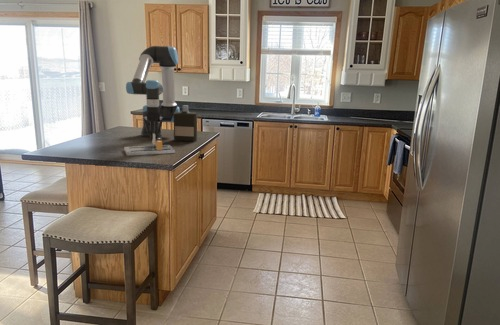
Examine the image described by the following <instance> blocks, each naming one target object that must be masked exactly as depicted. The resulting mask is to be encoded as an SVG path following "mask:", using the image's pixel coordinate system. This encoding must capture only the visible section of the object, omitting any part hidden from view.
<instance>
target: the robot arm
mask: <svg viewBox="0 0 500 325" xmlns="http://www.w3.org/2000/svg"><path fill="white" fill-rule="evenodd" d="M178 55H179V54H178V50H177V49H176V47H174V46H164V45H163V46H161V45H151V46H149V47H147V48H146V49H144V50H143V51H142V52H141V53H140V55H139V58H138V61H139V62H138V63H137V64H138V65H137V67H136V70H135V72H134V75H133V78H132V79H131V81H127V82H126V84H125V90H126V93H127V94H129V95H141V96H142V95H145V97H146V104H145V105H143V106H142V127H141V132H140V136H142V137H145V138H150V140H152V141H151V142H152V146H156V139H157V138H160V137H162V134H163V133H162V130H161V129H162V124H163V123H170V124H172V123H174V113H175V112H181V110H180V108H181V107H179V106H178V104H177V102H176V92H175V68H176V67H177V65H178V64H179V56H178ZM154 64H158V65H159V68H160V69H161V83H160V82H159V80H157V79H155V80H154V79H147V77H148V73H149V72H150V70H151V69H150V68H151V66H153V65H154ZM160 95H162V103H161V104H160Z"/></svg>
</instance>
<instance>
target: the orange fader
mask: <svg viewBox="0 0 500 325" xmlns="http://www.w3.org/2000/svg"><path fill="white" fill-rule="evenodd" d="M155 143H156V145H155V146H156V149H157V150H162V145H163V140H162V141H156V140H155Z"/></svg>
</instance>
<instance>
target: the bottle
mask: <svg viewBox="0 0 500 325" xmlns="http://www.w3.org/2000/svg"><path fill="white" fill-rule="evenodd" d="M197 140H198V113H197V112H190V111H189V105H187V104H186V105H185V104H184V105H182V111H180V112H175V113H174V122H173V141H174V142H191V143H195V142H196V141H197Z"/></svg>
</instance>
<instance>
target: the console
mask: <svg viewBox="0 0 500 325" xmlns="http://www.w3.org/2000/svg"><path fill="white" fill-rule="evenodd" d="M123 150H124V153H125V155H126V156H127V157H128V156H147V155H148V156H149V155H166V154H176V150H175V148H173V146H171V144H162V150H157V149H156V145H138V146H136V145H135V146H124V147H123Z"/></svg>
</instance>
